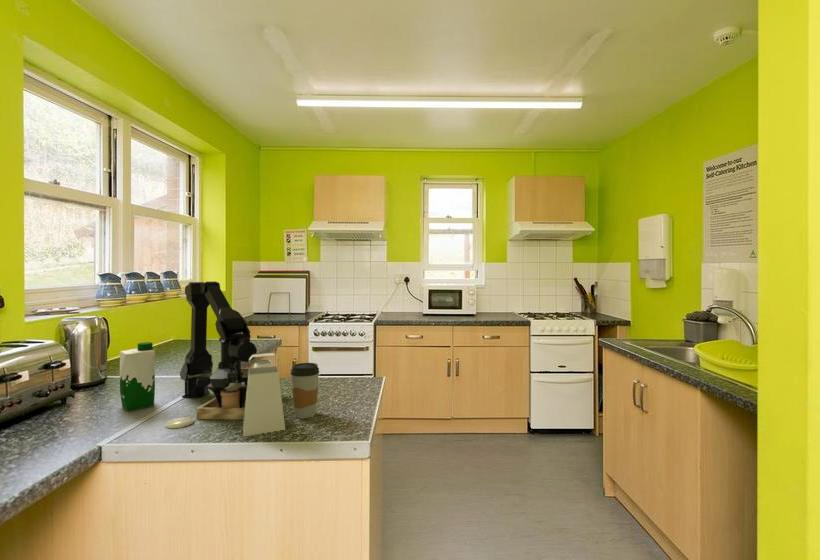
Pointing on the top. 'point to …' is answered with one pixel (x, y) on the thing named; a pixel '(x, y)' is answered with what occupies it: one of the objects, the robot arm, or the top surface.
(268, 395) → the grater
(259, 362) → the can
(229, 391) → the pot
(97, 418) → the top surface
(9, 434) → the top surface
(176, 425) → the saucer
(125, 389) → the milk carton
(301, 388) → the coffee cup
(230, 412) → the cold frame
